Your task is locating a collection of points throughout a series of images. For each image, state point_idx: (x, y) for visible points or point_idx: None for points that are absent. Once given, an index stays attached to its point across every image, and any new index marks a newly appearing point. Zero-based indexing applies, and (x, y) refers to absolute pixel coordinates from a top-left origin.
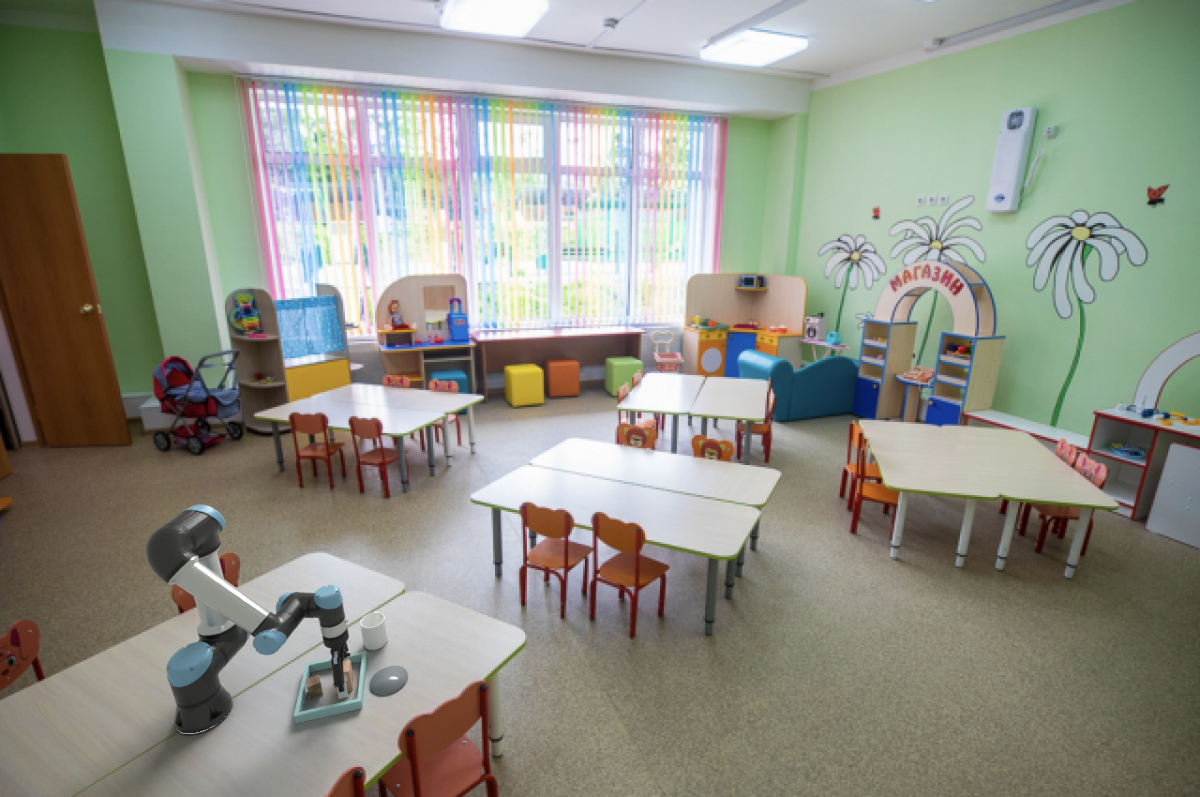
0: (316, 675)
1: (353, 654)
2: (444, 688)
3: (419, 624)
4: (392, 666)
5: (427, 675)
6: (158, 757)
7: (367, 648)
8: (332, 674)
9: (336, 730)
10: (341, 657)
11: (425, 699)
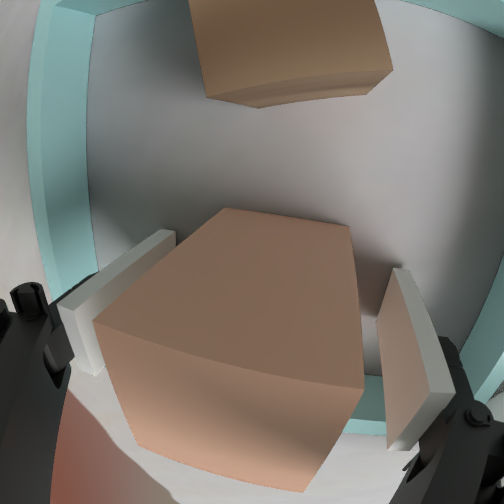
0: (378, 37)
1: (494, 383)
2: (157, 475)
3: None
4: None
5: (212, 481)
6: None
7: (497, 402)
8: (93, 323)
9: (20, 212)
10: (445, 429)
11: (127, 446)
